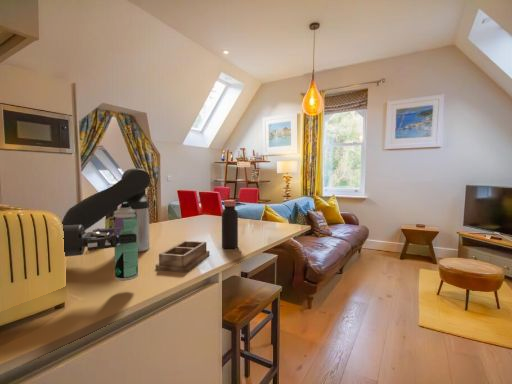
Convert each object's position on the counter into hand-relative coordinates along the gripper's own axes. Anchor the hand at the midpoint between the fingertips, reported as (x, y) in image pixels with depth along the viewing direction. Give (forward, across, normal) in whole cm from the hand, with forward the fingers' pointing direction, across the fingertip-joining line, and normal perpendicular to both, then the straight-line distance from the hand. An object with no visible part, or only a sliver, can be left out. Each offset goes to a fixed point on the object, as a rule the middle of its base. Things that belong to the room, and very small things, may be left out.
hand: (136, 235), depth 71 cm
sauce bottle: (-11, -60, -15) cm, 63 cm away
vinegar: (+36, -30, -15) cm, 49 cm away
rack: (+15, -18, -15) cm, 28 cm away
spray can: (-3, 0, -11) cm, 11 cm away
